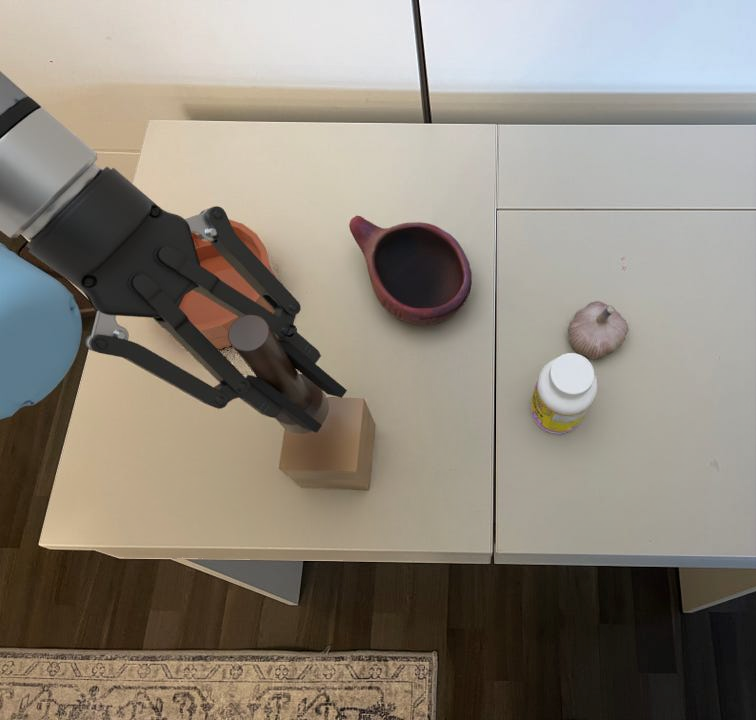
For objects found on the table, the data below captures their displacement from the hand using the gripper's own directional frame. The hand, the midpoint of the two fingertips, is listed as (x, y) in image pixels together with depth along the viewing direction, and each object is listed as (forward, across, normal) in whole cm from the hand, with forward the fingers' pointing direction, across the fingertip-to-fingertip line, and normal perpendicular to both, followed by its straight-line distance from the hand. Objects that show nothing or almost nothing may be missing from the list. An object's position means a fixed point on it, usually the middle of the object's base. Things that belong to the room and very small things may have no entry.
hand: (324, 408), depth 55 cm
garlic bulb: (+28, -30, -6) cm, 42 cm away
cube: (+15, 0, -20) cm, 25 cm away
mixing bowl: (-3, -10, -38) cm, 39 cm away
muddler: (+2, 0, -7) cm, 7 cm away
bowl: (+11, -23, -24) cm, 35 cm away
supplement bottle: (+29, -19, -6) cm, 35 cm away
